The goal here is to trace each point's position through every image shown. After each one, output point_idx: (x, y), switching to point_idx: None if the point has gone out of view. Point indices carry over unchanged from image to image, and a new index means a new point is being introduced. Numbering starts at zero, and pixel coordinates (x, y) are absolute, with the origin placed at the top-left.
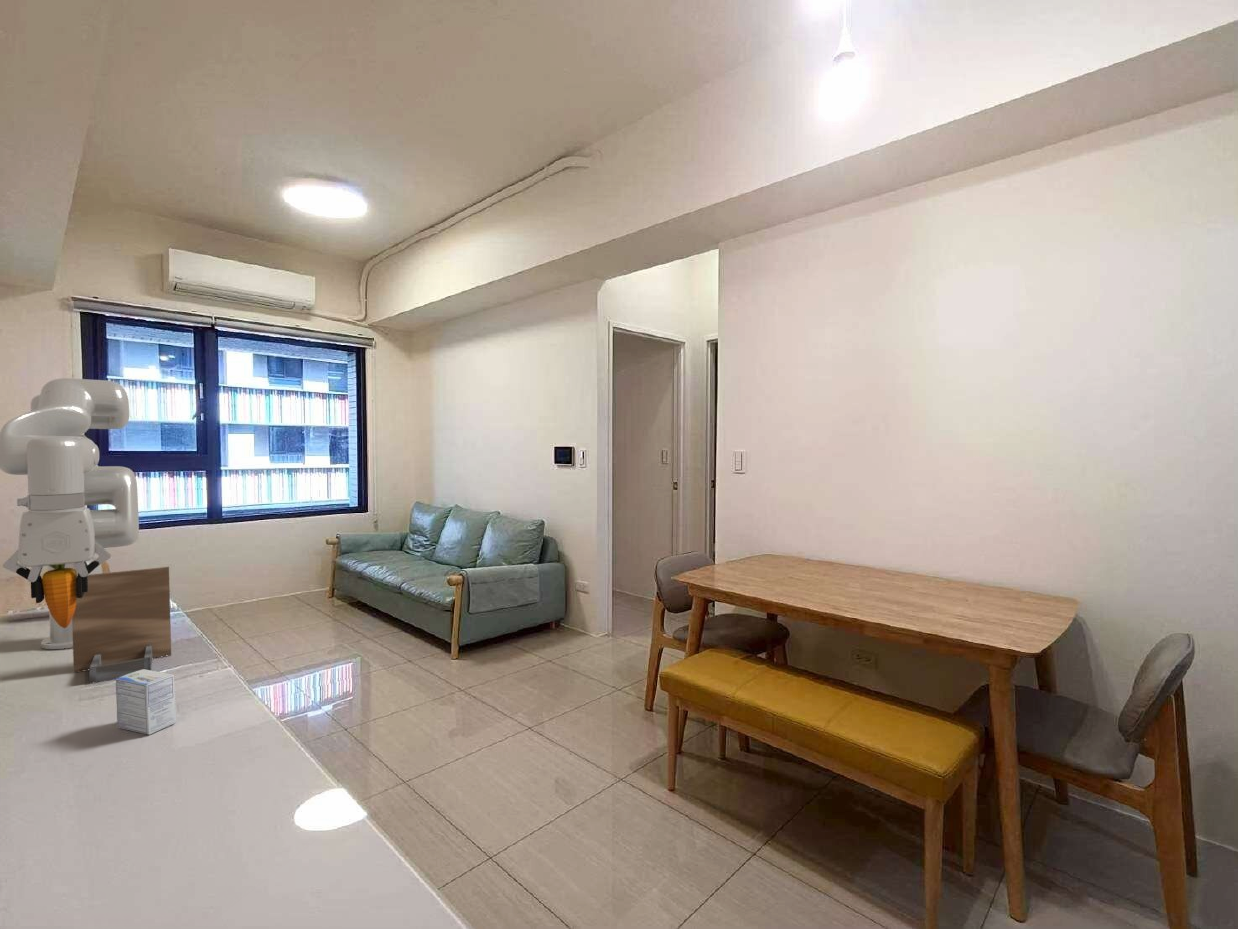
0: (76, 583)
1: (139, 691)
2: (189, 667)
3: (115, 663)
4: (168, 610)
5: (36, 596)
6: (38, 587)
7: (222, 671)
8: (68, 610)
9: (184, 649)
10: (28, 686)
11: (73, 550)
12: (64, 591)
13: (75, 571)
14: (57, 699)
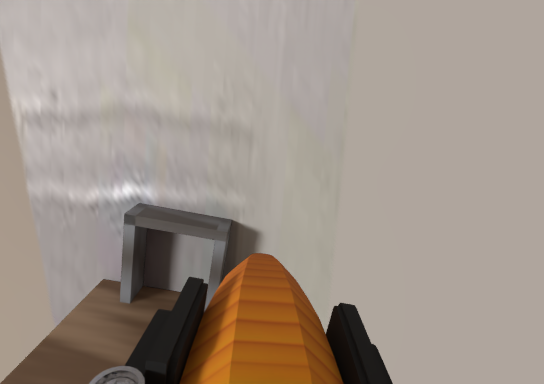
0: (186, 336)
1: None
2: (74, 176)
3: (184, 229)
4: (29, 357)
5: (360, 324)
6: (366, 363)
7: (13, 91)
8: (245, 263)
9: (80, 300)
10: (309, 284)
11: None
12: (249, 308)
13: None
14: (281, 172)
